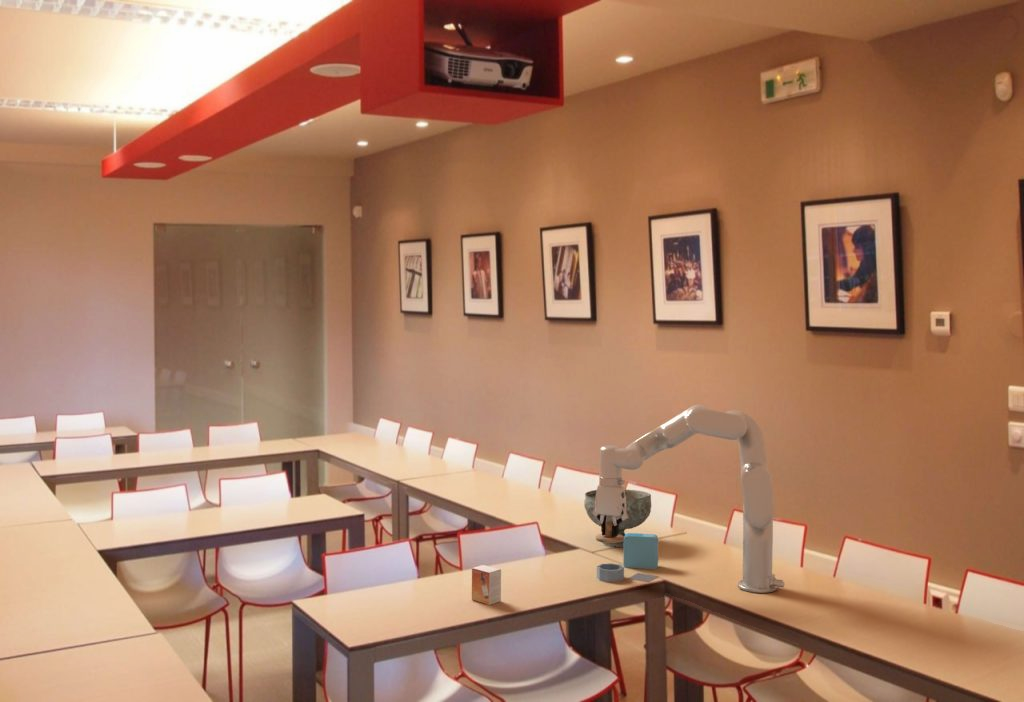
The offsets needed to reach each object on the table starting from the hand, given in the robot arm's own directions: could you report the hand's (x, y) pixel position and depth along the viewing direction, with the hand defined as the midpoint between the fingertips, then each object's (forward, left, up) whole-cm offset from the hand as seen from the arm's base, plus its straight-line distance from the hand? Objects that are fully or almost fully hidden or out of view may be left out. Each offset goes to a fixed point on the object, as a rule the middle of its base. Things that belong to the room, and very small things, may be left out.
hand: (609, 535), depth 335 cm
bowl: (0, 0, -16) cm, 16 cm away
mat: (-9, -7, -16) cm, 19 cm away
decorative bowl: (+22, -47, -16) cm, 54 cm away
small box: (+22, +42, -16) cm, 50 cm away
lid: (0, 0, -2) cm, 2 cm away
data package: (-2, -19, -16) cm, 25 cm away
